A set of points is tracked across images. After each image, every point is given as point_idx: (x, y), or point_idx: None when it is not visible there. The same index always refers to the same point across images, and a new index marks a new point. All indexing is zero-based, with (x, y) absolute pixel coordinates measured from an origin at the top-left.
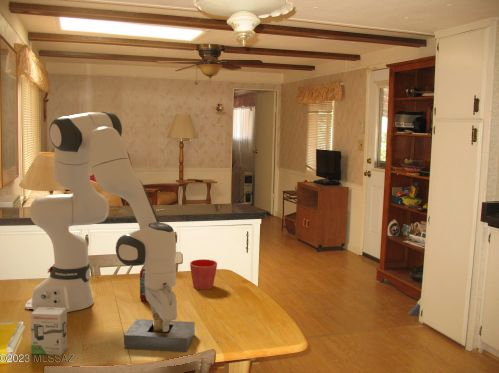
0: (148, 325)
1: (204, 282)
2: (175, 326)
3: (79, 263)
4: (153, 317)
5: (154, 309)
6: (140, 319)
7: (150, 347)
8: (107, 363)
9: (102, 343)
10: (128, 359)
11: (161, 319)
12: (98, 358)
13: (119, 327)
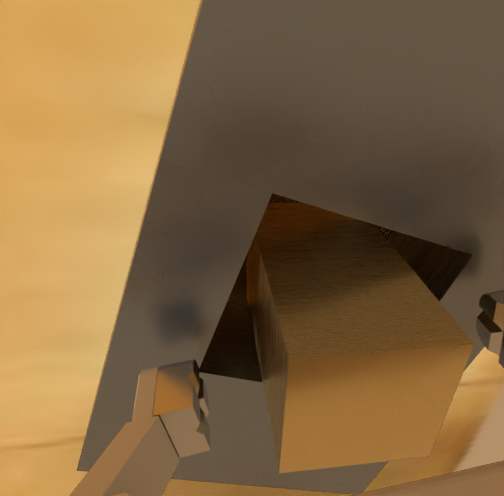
0: (235, 396)
1: None
2: (331, 178)
3: None
4: (352, 463)
5: (145, 491)
6: (88, 449)
7: None
8: (454, 451)
9: (241, 489)
10: (462, 391)
11: (448, 401)
12: (392, 479)
13: (24, 459)
